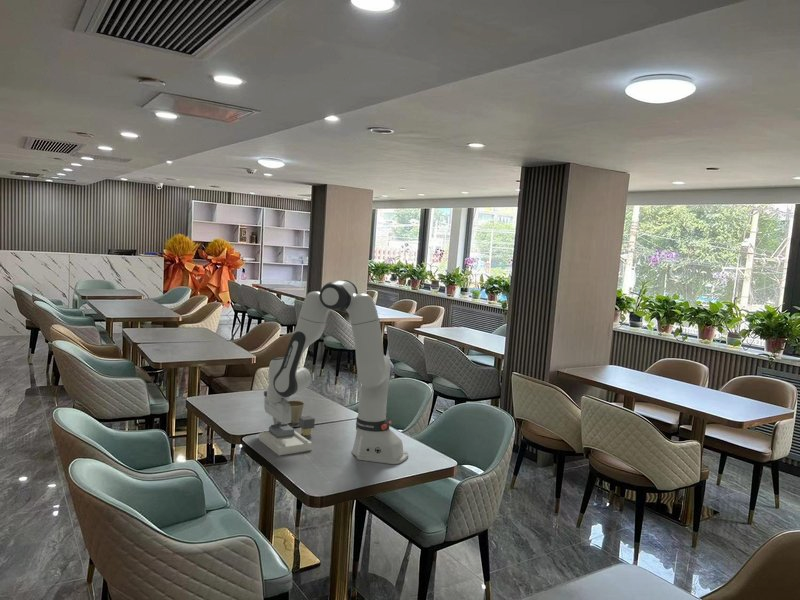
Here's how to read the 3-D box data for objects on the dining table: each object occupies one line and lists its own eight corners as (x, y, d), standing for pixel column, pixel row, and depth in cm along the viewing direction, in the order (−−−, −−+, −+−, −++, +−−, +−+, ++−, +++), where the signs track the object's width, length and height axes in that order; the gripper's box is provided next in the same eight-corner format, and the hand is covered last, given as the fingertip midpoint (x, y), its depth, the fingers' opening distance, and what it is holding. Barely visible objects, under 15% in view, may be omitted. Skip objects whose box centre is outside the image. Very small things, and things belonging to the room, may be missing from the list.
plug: (313, 435, 249) (314, 418, 249) (303, 436, 247) (304, 420, 246) (308, 431, 253) (309, 415, 253) (298, 433, 251) (298, 416, 250)
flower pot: (292, 426, 260) (293, 407, 259) (278, 421, 265) (279, 402, 265) (308, 422, 267) (309, 403, 267) (293, 417, 273) (294, 399, 272)
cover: (294, 435, 238) (294, 427, 237) (275, 437, 233) (275, 429, 233) (287, 430, 243) (287, 422, 243) (268, 432, 239) (269, 424, 238)
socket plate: (311, 450, 231) (312, 440, 231) (278, 455, 223) (279, 445, 223) (290, 435, 247) (291, 426, 247) (259, 439, 239) (259, 430, 239)
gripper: (296, 401, 234) (294, 434, 236) (276, 389, 251) (274, 420, 252) (281, 402, 231) (279, 436, 232) (262, 390, 248) (260, 422, 249)
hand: (277, 428), depth 242 cm, fingers closed
